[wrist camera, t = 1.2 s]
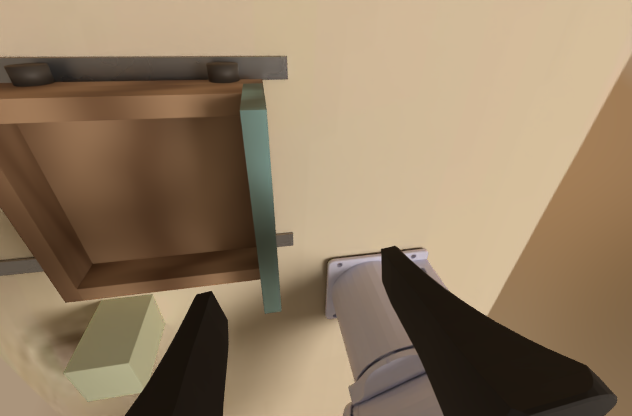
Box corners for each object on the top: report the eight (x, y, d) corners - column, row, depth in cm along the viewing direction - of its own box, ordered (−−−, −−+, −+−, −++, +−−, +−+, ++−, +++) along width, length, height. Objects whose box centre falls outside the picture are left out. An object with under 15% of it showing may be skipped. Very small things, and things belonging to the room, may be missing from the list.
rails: (286, 56, 17) (287, 56, 17) (293, 243, 25) (293, 245, 25) (-194, 58, 14) (-200, 58, 13) (-13, 275, 21) (-15, 277, 21)
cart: (260, 61, 16) (264, 87, 11) (275, 247, 24) (282, 319, 18) (-11, 63, 14) (-175, 96, 9) (98, 266, 22) (45, 353, 16)
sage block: (152, 294, 25) (128, 363, 20) (165, 323, 27) (146, 391, 22) (100, 300, 24) (63, 373, 20) (118, 329, 27) (87, 401, 22)
